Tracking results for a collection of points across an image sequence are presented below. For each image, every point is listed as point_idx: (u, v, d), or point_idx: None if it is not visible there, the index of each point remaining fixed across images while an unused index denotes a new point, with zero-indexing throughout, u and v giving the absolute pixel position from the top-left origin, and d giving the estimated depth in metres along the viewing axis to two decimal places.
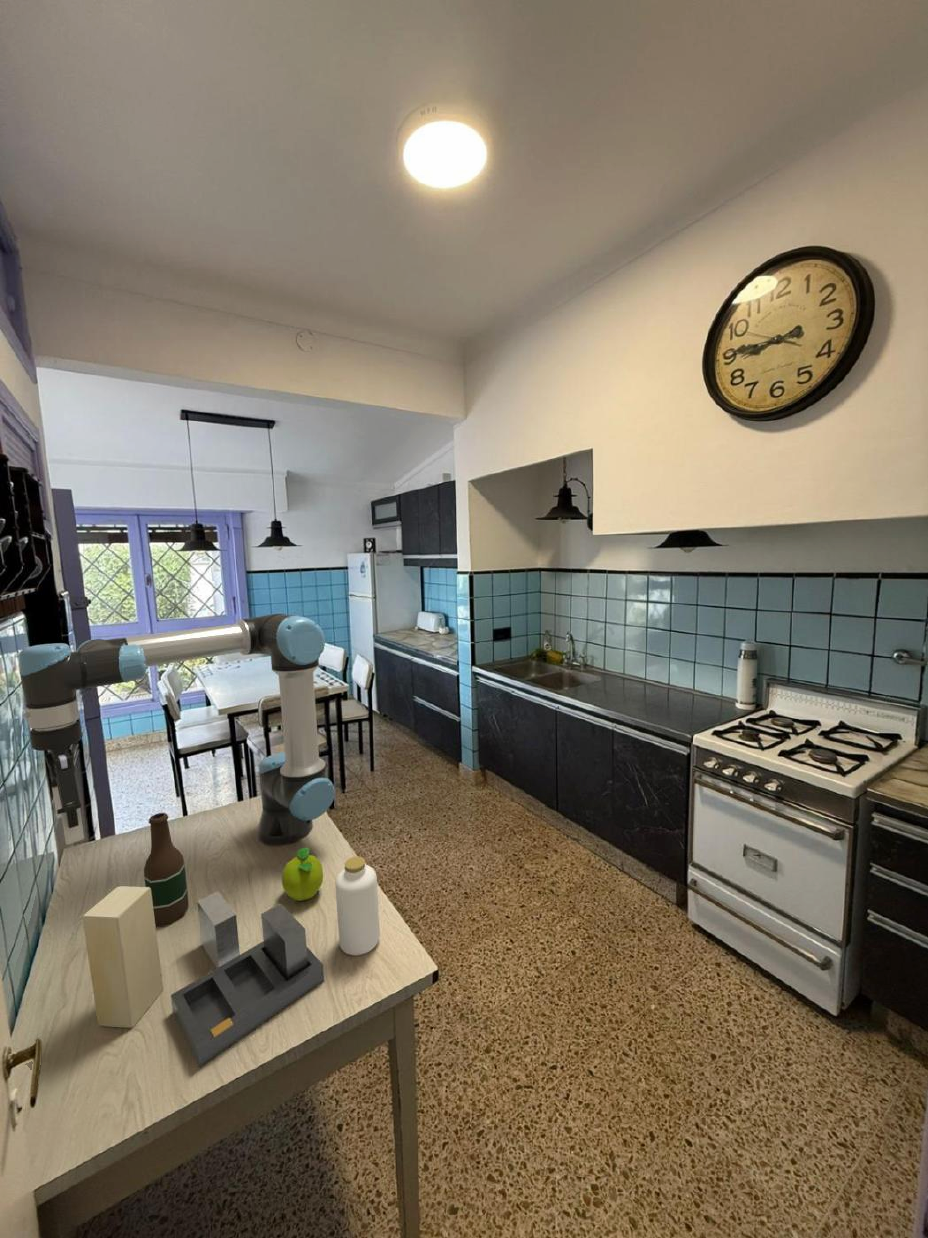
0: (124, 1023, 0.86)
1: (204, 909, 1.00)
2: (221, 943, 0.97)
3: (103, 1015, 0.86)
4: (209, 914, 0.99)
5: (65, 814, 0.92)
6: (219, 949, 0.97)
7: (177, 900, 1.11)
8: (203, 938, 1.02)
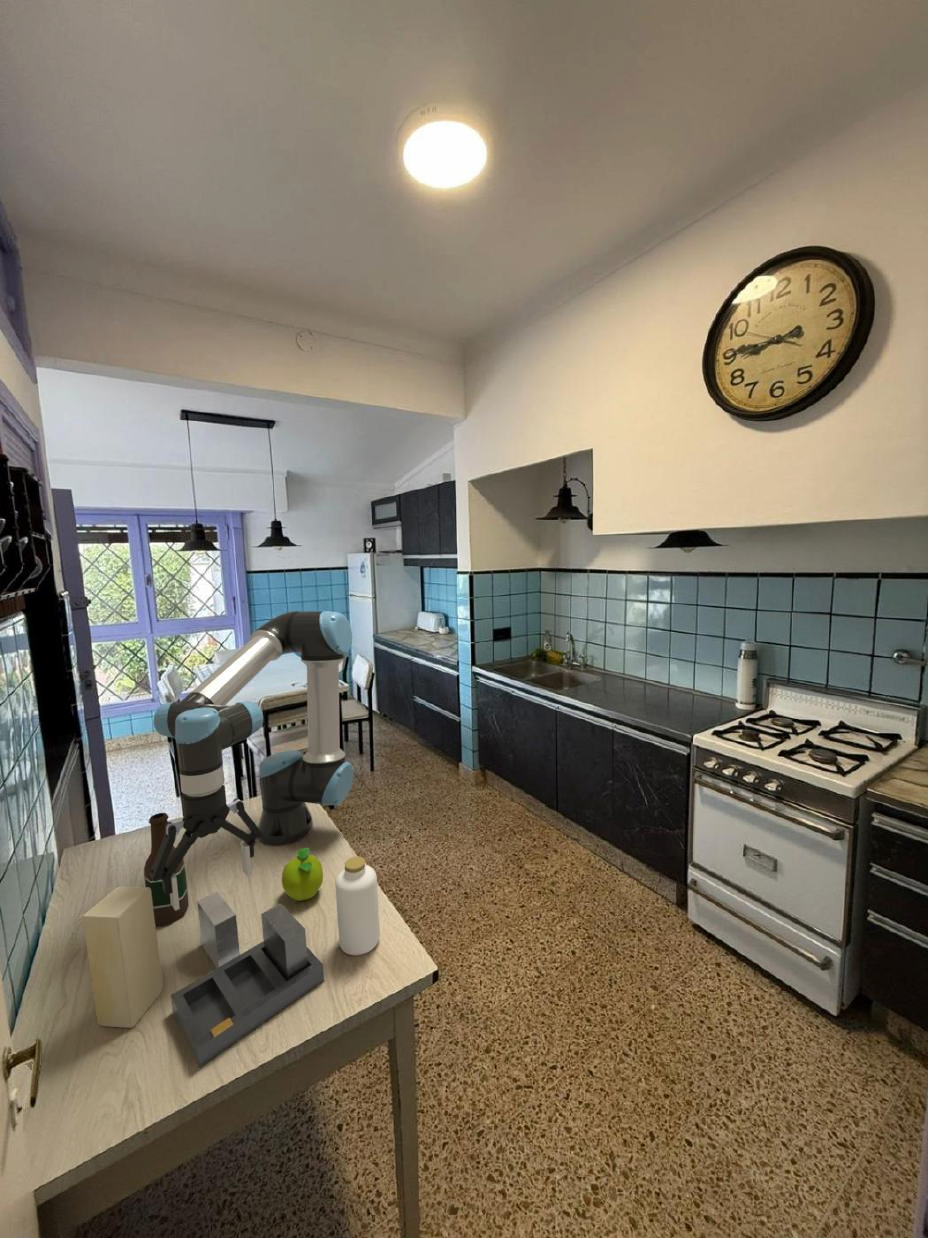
0: (124, 1023, 0.86)
1: (204, 909, 1.00)
2: (221, 943, 0.97)
3: (103, 1015, 0.86)
4: (209, 914, 0.99)
5: None
6: (219, 949, 0.97)
7: None
8: (203, 938, 1.02)
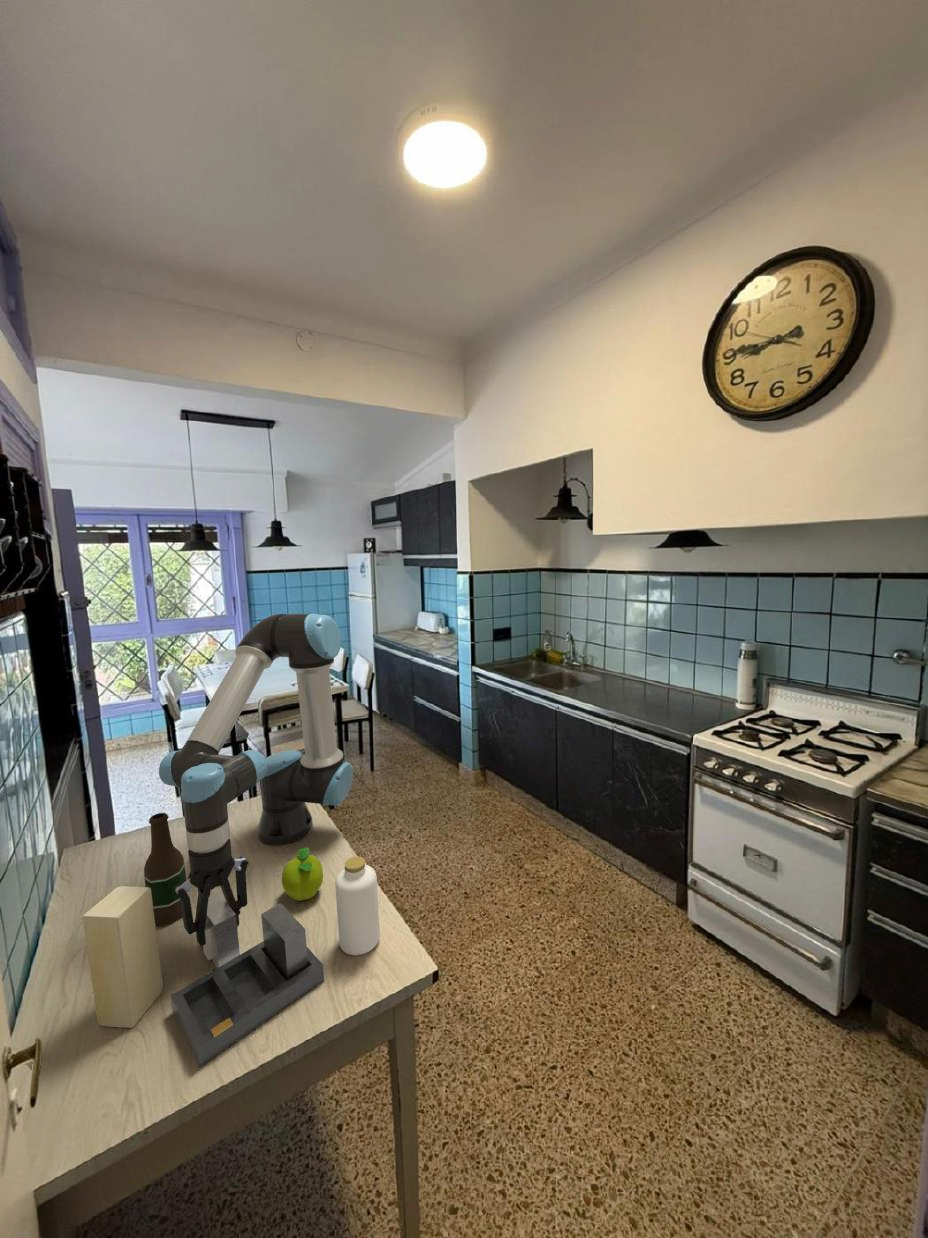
0: (124, 1023, 0.86)
1: None
2: (221, 942, 0.97)
3: (103, 1015, 0.86)
4: (209, 914, 0.99)
5: None
6: (219, 949, 0.96)
7: (177, 900, 1.11)
8: None
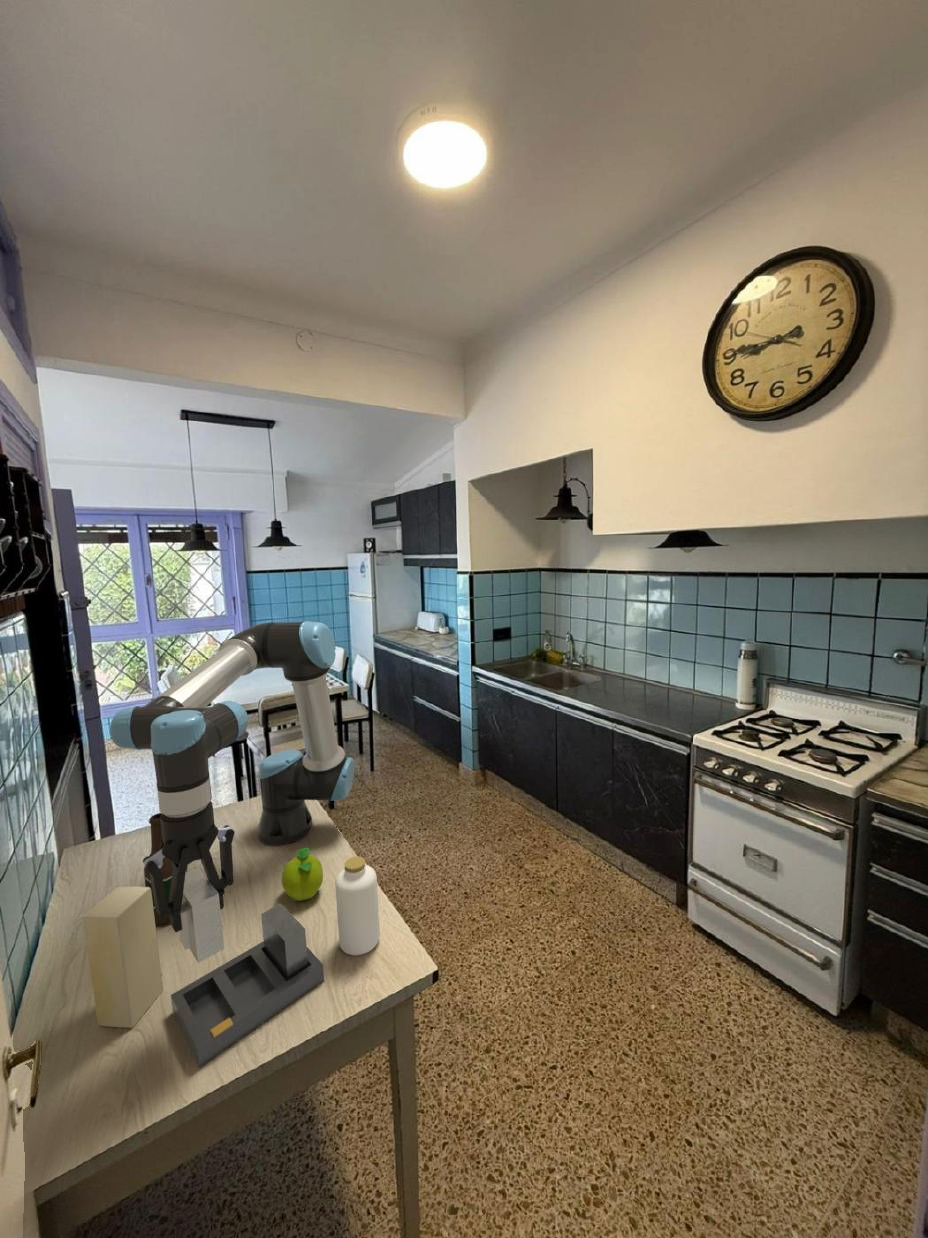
0: (124, 1023, 0.86)
1: None
2: (200, 927, 0.79)
3: (103, 1015, 0.86)
4: (186, 893, 0.81)
5: None
6: (198, 935, 0.79)
7: None
8: None
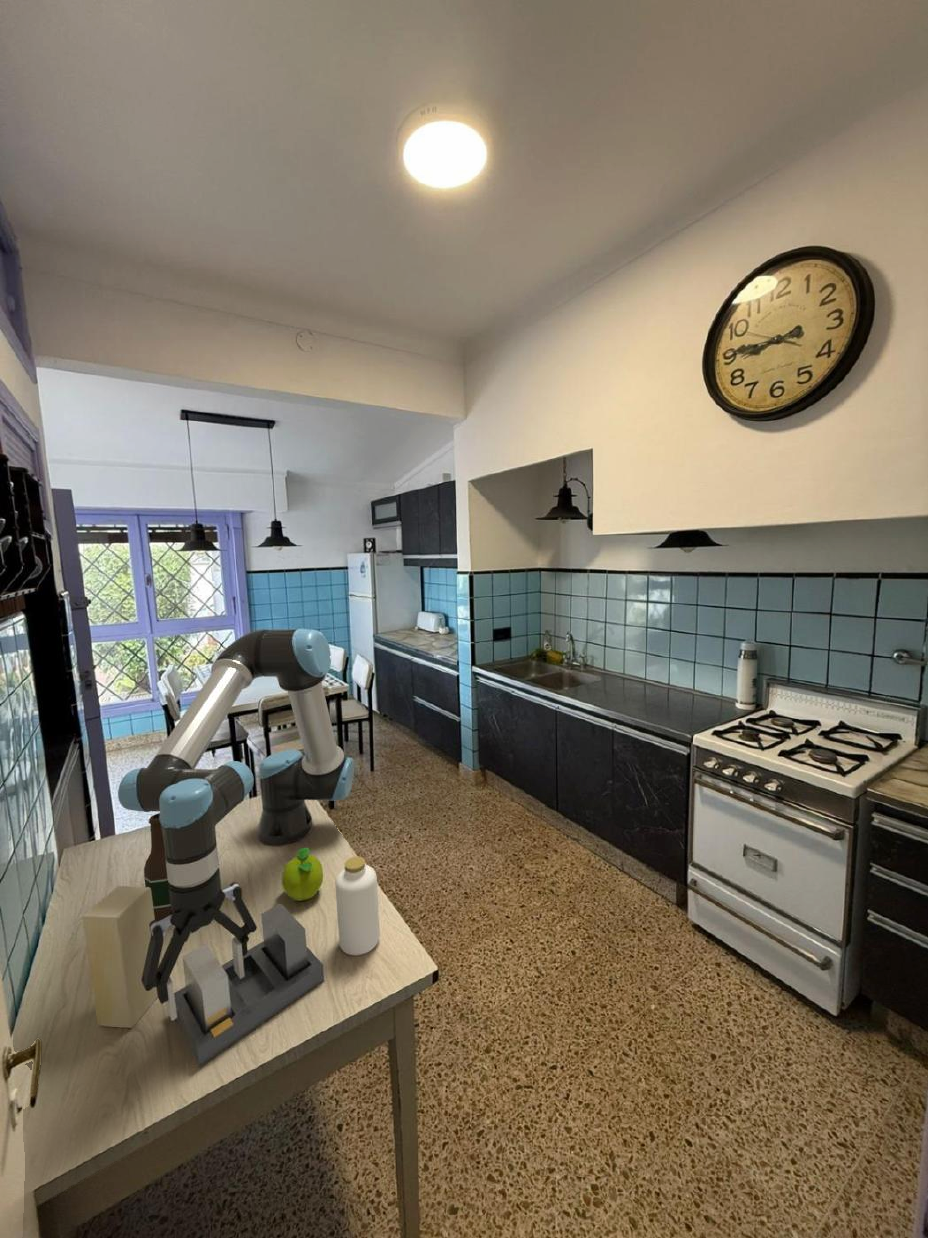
0: (124, 1023, 0.86)
1: (190, 967, 0.85)
2: (210, 1010, 0.81)
3: (103, 1015, 0.86)
4: (196, 974, 0.83)
5: None
6: (207, 1018, 0.81)
7: None
8: (189, 1000, 0.87)
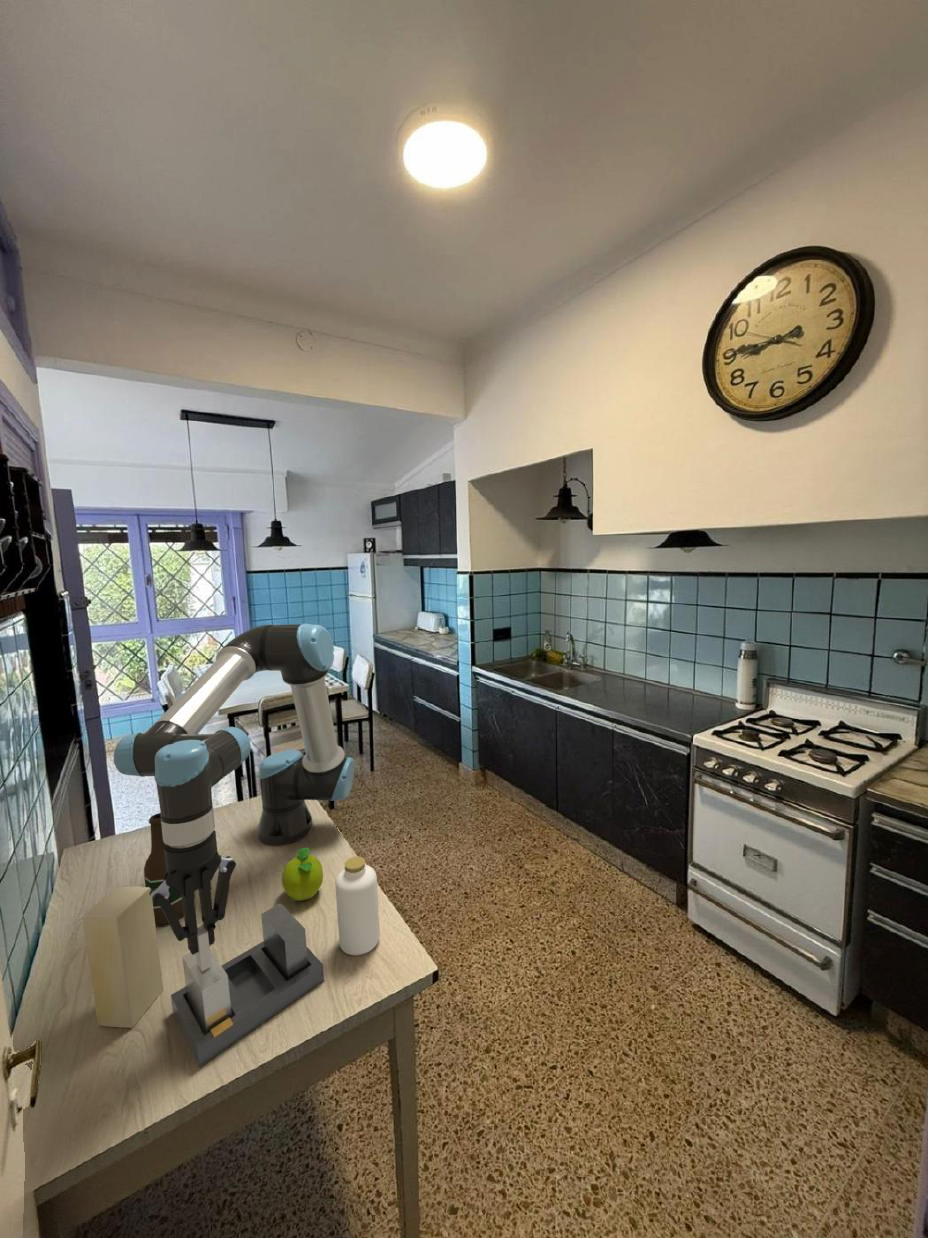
0: (124, 1023, 0.86)
1: (190, 967, 0.85)
2: (210, 1010, 0.81)
3: (103, 1015, 0.86)
4: (196, 974, 0.83)
5: None
6: (207, 1018, 0.81)
7: (177, 900, 1.11)
8: (189, 1000, 0.87)
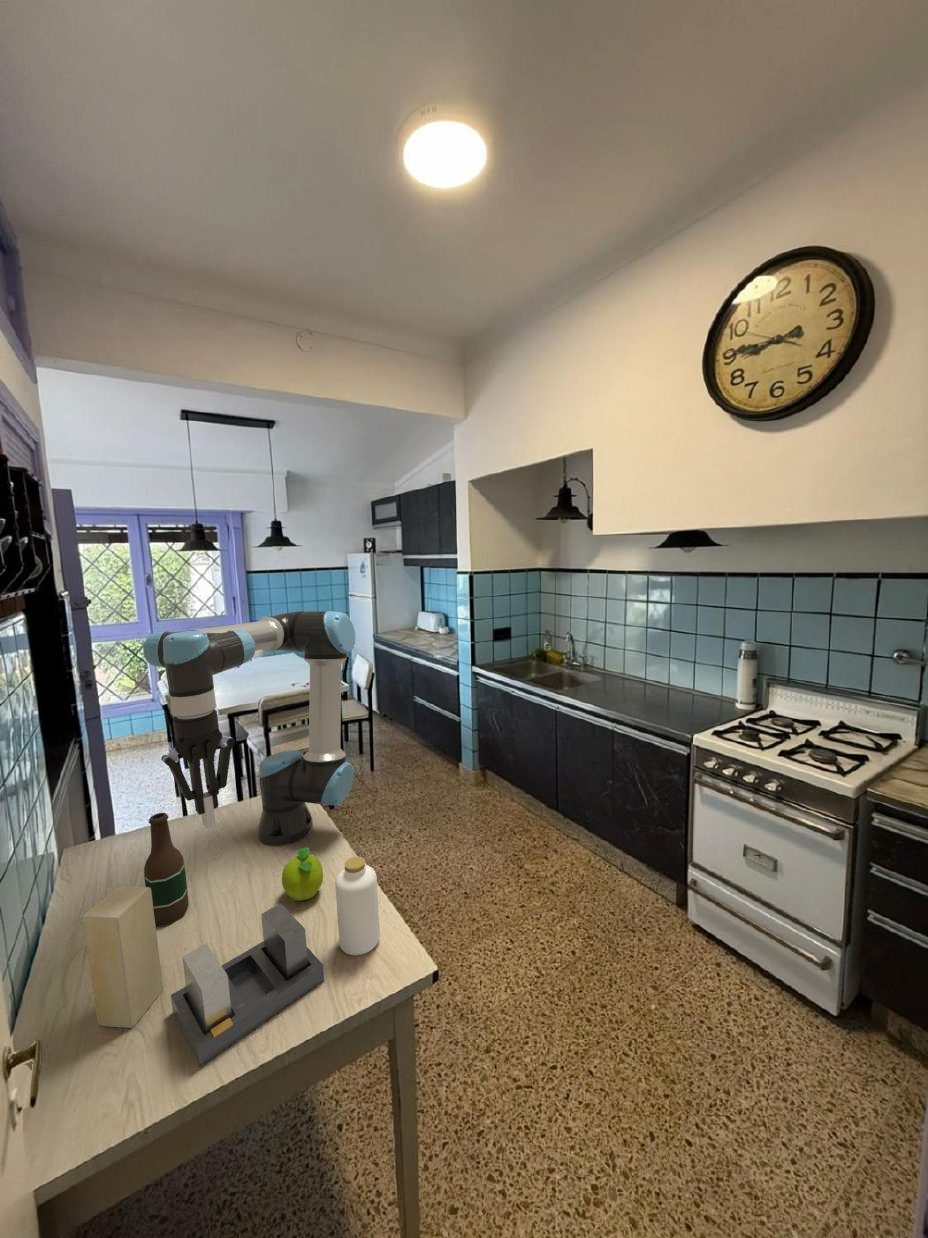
0: (124, 1023, 0.86)
1: (190, 967, 0.85)
2: (210, 1010, 0.81)
3: (103, 1015, 0.86)
4: (196, 974, 0.83)
5: None
6: (207, 1018, 0.81)
7: (177, 900, 1.11)
8: (189, 1000, 0.87)
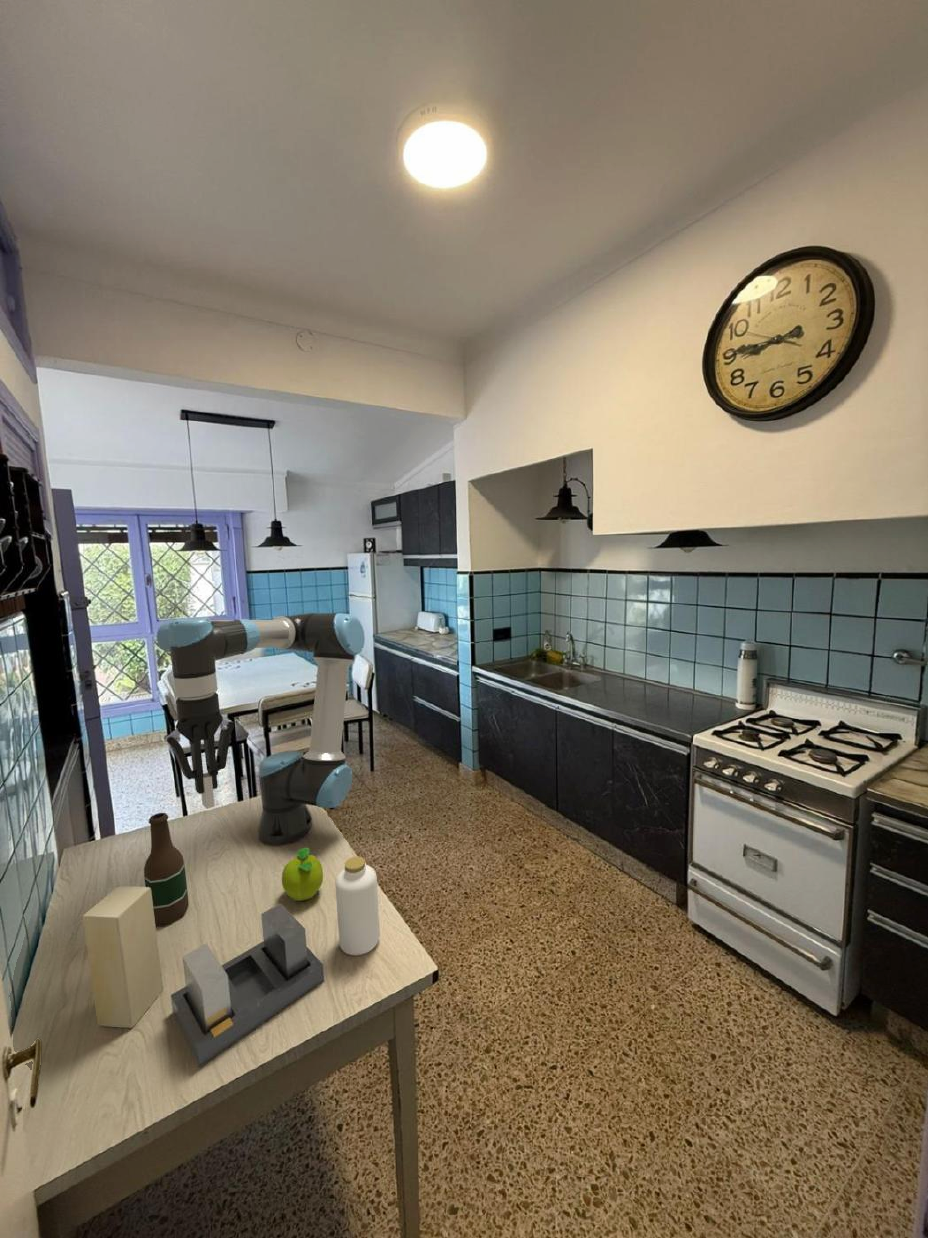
0: (124, 1023, 0.86)
1: (190, 967, 0.85)
2: (210, 1010, 0.81)
3: (103, 1015, 0.86)
4: (196, 974, 0.83)
5: None
6: (207, 1018, 0.81)
7: (177, 900, 1.11)
8: (189, 1000, 0.87)
